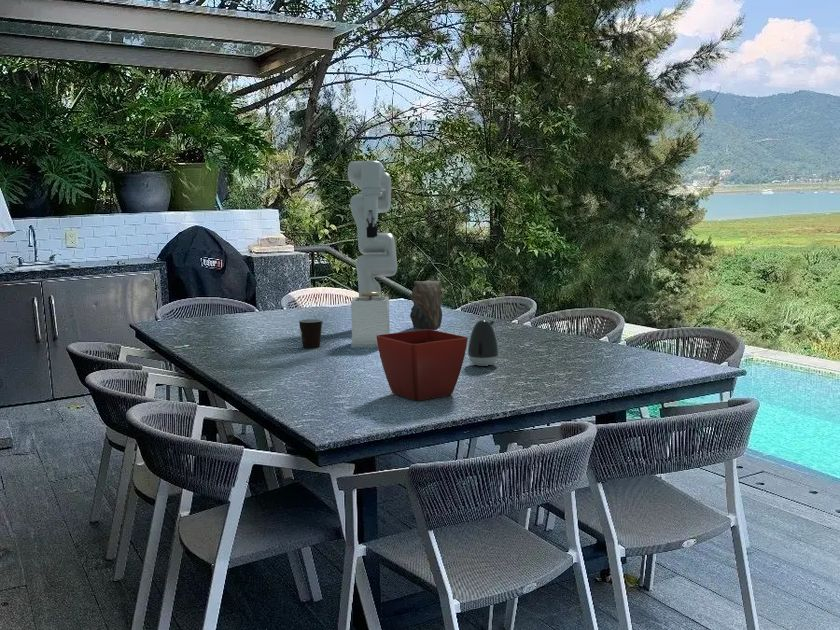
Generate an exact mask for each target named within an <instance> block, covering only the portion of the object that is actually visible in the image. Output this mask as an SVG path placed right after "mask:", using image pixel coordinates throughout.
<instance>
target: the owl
mask: <svg viewBox="0 0 840 630" xmlns="http://www.w3.org/2000/svg"><path fill="white" fill-rule="evenodd" d="M413 285H414V286H413V287H412V288H413V289H411V290H412V291H411V294H410V296H411V301H412V303H413V306H412V307H411V312H410V314H409V317H410V319H411V323H412V328H413V329H418V330H427V329H430V330H438V329H439V328H440V327H441V326H442V325H441V324H442V322H443V321H442V320H443V311H442V307H441V306H442V301H443V289H442V286H443V283H442V280H430V279H428V280H425V281H419V280H417V281H416V280H414V281H413Z"/></svg>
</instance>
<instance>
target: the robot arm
mask: <svg viewBox="0 0 840 630" xmlns="http://www.w3.org/2000/svg"><path fill="white" fill-rule="evenodd" d="M347 178H348V181H349V182H350V183H351V184H353V185H356V186H357V187H358V189H359V190H360V191H361V193H357V194H354V195H353V196H351V198H350V203H349V204H350V211H351V215H352V218H353V219H354V223H355V225H356V228H357V229H356V230H357V246H358V250H359V252H360V254H362V255H359V256H358V257H357V258H356V260H355V270H356V275H357V282H358V283H357V284H358V287H357V288H358V297H369V296H361V292H366V291H377V292H379V296H372V297H382V289H381V288H382V286H381V285H380V282H378V281H377V280H376V279H375V278H377V277H394V276H395V275H396V273H397V271H398V261H397V260H398V259H397V247H396V241H395V237H394V235H393V234H392V233H391V232H378V226H377V222H378V219H379V213H380V214H383V213H387V212H389V211H390V210H391V206H392V178H391V175H390V173H388V172H386V171H385V168H384V165H383V163H382V162H381V161H379V160H353V161H350V162H349V163H348V166H347Z"/></svg>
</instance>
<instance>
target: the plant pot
mask: <svg viewBox="0 0 840 630" xmlns="http://www.w3.org/2000/svg"><path fill="white" fill-rule="evenodd" d="M468 339H469V338H468V337H467V336H463V335H459V334H454V333H450V332H449V333H448V332H444V331H440V330H437V329H418V330H411V331H409V330H408V331H402V332H400V331H399V332H394V333H393V332H392V333H390V334H383V335H377V343H378V352H379V357H380V361H381V365H382V367H383V372H384V374H385V378H386V380H387V383H388V386H389V389H390V390H391V393H392V394H394V395H397V396H400V397H403V398H406V399H408V400H411V401H414V402H415V401H416V402H418V401H419V402H420V401H424V400H430V399H431V398H432V399H437V397H438V398H443V397H442V396H444V397H448V396H447V395H449V396H452V395H453V393H454V391H455V388H456V385H457V383H458V380H459V377H460V373H461V371H462V367H463V364H464V360H465V355H466V350H467V344H468ZM451 394H452V395H451ZM432 399H431V400H432Z"/></svg>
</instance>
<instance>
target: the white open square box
mask: <svg viewBox="0 0 840 630" xmlns="http://www.w3.org/2000/svg"><path fill="white" fill-rule="evenodd" d="M389 298H390V297H389V296H381V297H372V301H369V297H359V296H355V297H354V298H353V299H352V300H351V301H350V309H351V310H350V311H351V312H350V315H351V316H350V317H351V319H350V320H351V343H350V348H351V349H354V348H355V349H358V348H359V349H362V348H363V349H365V348H370V349H372V348H373V349H374V348H375V349H376V348H378V343H377V335H383V334H391V333H390V331H391V330H390V299H389ZM378 349H379V348H378Z"/></svg>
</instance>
